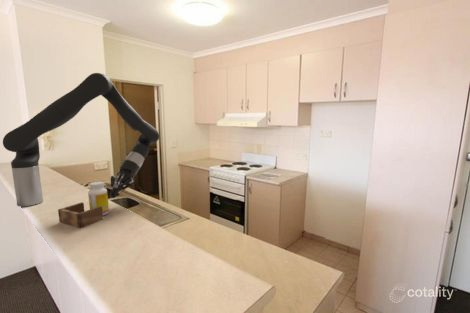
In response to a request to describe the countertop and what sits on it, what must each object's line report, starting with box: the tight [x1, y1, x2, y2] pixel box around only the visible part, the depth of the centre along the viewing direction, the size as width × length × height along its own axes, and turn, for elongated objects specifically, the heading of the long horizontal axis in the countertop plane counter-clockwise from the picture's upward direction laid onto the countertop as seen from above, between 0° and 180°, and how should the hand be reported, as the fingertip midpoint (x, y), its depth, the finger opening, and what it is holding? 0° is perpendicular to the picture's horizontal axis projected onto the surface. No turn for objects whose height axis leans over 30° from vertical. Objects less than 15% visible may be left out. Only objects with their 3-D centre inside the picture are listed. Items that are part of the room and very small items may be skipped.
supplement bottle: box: [87, 181, 110, 216], centre depth 97 cm, size 7×7×13 cm
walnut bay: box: [57, 202, 104, 229], centre depth 91 cm, size 12×9×5 cm
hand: (111, 197), depth 103 cm, fingers closed
